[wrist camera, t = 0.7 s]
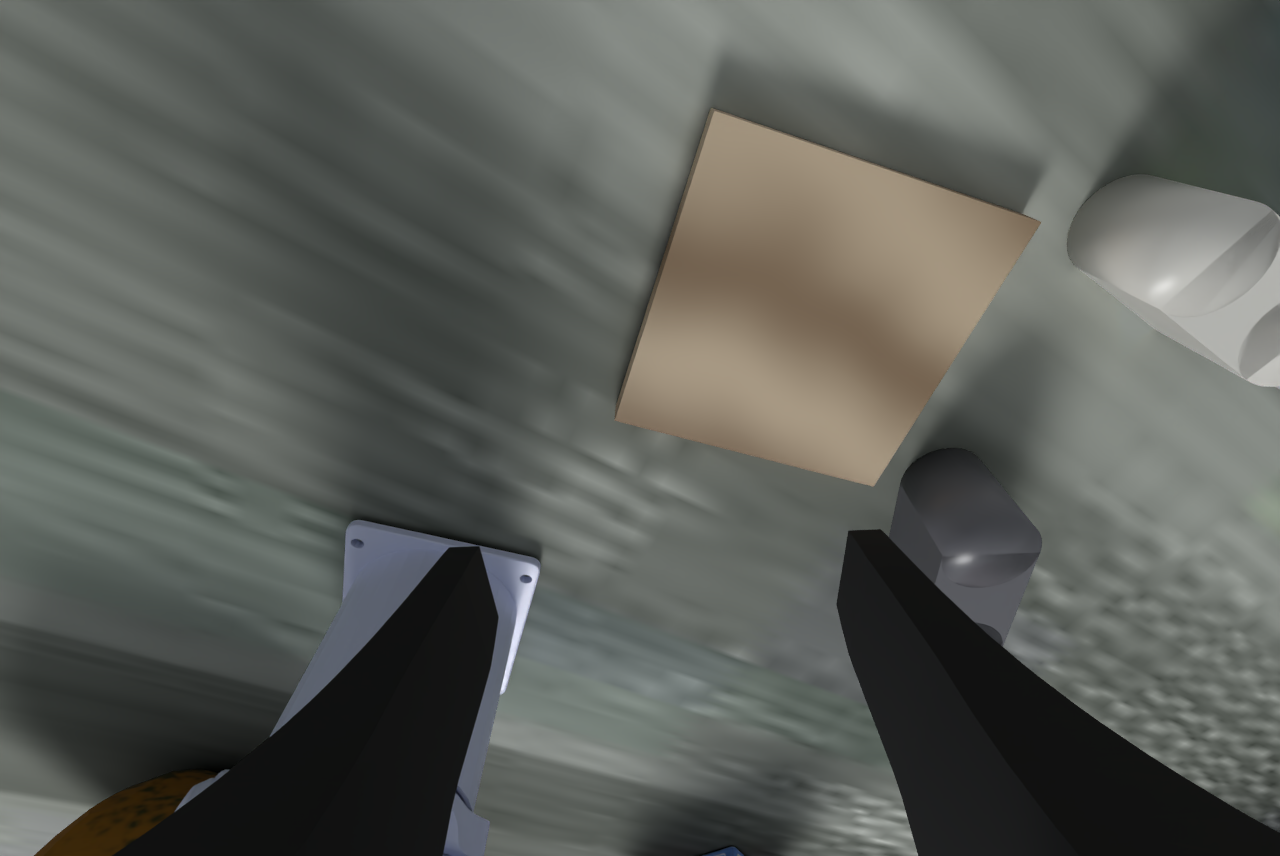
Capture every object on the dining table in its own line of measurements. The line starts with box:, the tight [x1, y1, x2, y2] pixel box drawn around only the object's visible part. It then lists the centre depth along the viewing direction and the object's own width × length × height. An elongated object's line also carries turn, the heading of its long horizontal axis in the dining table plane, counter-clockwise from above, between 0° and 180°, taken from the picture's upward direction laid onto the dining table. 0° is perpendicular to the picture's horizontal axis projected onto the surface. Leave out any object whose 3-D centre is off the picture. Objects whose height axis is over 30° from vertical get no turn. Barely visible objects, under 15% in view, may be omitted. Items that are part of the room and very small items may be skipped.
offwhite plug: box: [1067, 174, 1280, 389], centre depth 18 cm, size 9×3×4 cm, turn 58°
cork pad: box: [615, 108, 1041, 487], centre depth 20 cm, size 10×10×1 cm
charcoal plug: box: [889, 448, 1042, 647], centre depth 24 cm, size 10×3×4 cm, turn 3°
